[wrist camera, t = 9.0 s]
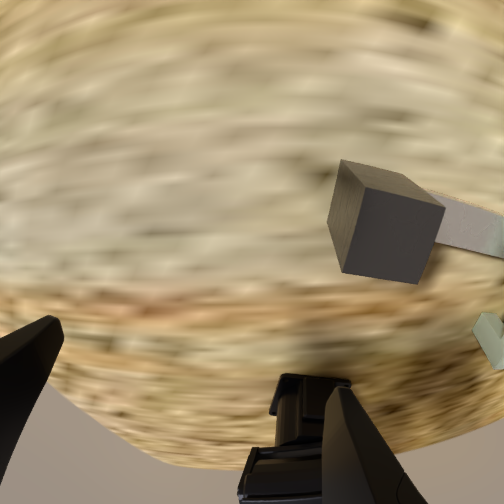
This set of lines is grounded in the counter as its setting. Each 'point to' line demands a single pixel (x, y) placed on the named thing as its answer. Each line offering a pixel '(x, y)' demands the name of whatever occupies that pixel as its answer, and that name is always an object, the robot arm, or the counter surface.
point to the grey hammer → (402, 224)
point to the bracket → (491, 338)
